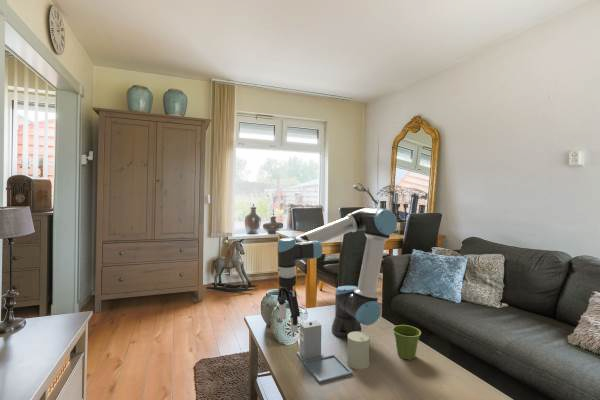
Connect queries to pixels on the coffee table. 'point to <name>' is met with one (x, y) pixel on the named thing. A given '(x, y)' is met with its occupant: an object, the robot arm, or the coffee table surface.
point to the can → (358, 350)
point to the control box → (310, 341)
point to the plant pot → (406, 340)
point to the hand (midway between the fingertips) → (288, 325)
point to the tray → (327, 368)
